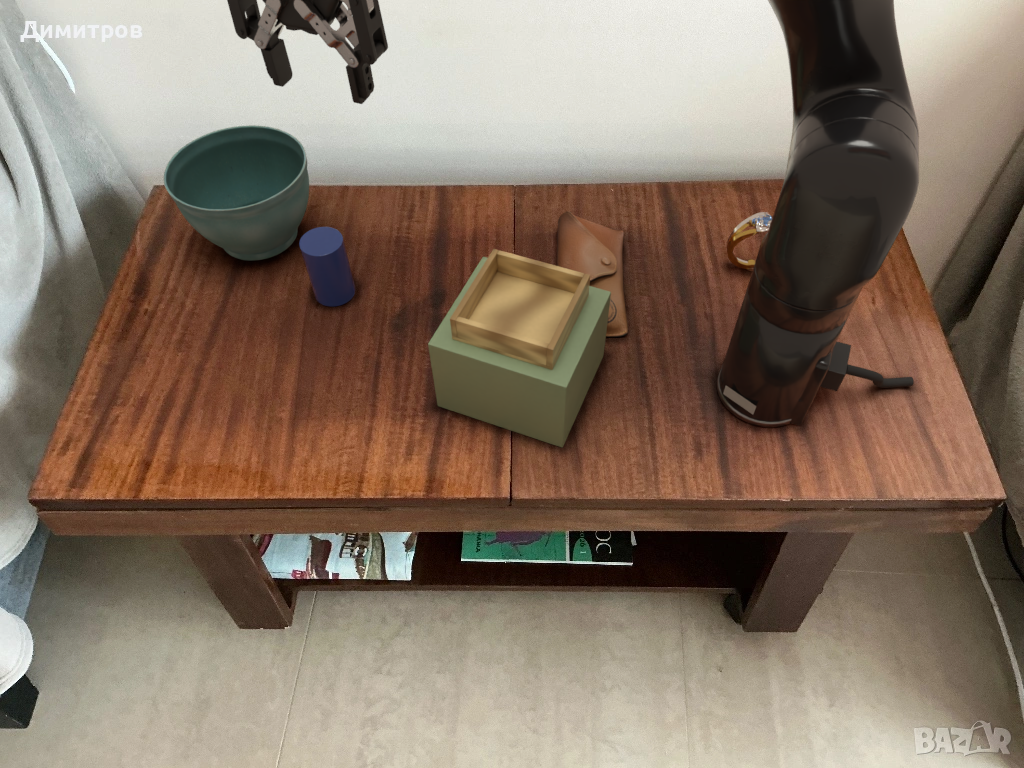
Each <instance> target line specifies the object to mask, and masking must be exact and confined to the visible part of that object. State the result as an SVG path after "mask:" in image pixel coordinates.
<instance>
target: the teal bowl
mask: <svg viewBox="0 0 1024 768" xmlns="http://www.w3.org/2000/svg"><path fill="white" fill-rule="evenodd" d="M306 152H307V151H306V149H305V147H304V145H303V144H302V143H301V141H299V139H298V138H296V136H294V135H292V134H291V133H289V132H287V131H285V130H282V129H279V128H275V127H272V126H266V125H255V124H253V125H251V124H249V125H238V126H237V125H236V126H231V127H230V126H229V127H225V128H221V129H217V130H213V131H210V132H208V133H205V134H203V135H201V136H199V137H197V138H195V139H193V140H191V141H189V142H188V143H186V144H185V145H183V146H182V147H181V148H179V149H178V151H177V152H175V153H174V154H173V155H172V157H171V158H170V160H168V162H167V164H166V166H165V169H164V172H163V186H164V188H165V190H166V192H167V193H168V195H169V196H170V198H171V199H172V200H173V202H174V203H175V204H176V207H177V209H178V210H179V212H180V213H181V214H182V216H183V217H184V219H185V220H186V222H187V223H188V224H189V225H190V226H191V227H192V228H193V229H194V230H195V232H197V233H198V234H199V235H201V236H202V237H203V238H204V239H206V240H208V241H209V242H210V243H212V244H214V245H216V246H217V247H220V248H222V249H223V250H224V251H225V252H226V254H228V255H229V256H231V257H233V258H235V259H237V260H241V261H262V260H267V259H270V258H273V257H276V256H278V255H280V254H282V253H283V252H285V251H286V250H287V249H289V248H290V247H291V246H292V244H293V243H294V242H295V240H296V239H297V236H298V231H299V230H298V229H299V226H300V225H301V223H302V221H303V219H304V217H305V214H306V211H307V208H308V204H309V199H310V198H309V197H310V178H309V171H308V157H307V153H306Z"/></svg>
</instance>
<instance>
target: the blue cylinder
mask: <svg viewBox="0 0 1024 768" xmlns="http://www.w3.org/2000/svg"><path fill="white" fill-rule="evenodd" d="M298 242H299V243H298V245H299V246H298V247H299V250H300V252H301V253H300V254H301V256H302V259H303V262H304V263H303V264H304V266H305V269H306V272H307V275H308V279H309V281H310V285H311V288H312V291H313V295H314V298H315V300H316V301H317V302H318V303H319V304H320V305H322V306H325V307H329V308H330V307H333V308H334V307H339V306H343V305H345V304H347V303H348V302H350V301H351V300H352V299H353V297H354V296H355V294H356V285H355V280H354V277H353V272H352V268H351V264H350V261H349V257H348V253H347V249H346V243H345V240H344V237H343V234H342V233H341V231H340V230H338V229H336V228H333V227H330V226H319V227H318V226H317V227H314V228H311V229H310V230H308V231H306V232H305V233H304V234H303V235H301V237H300V239H299V241H298Z"/></svg>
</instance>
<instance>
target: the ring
mask: <svg viewBox="0 0 1024 768" xmlns="http://www.w3.org/2000/svg"><path fill="white" fill-rule="evenodd" d="M772 218H773V215H771V214H770V213H769V212H767V211H760V212H757V213H754V214H752V215H750V216H749V217H747V218H746V219H743V220H742V221H741V222H740V223H738V225H737V226H735V228H734V229H733V230H732V231H731V233H730V235H728V238H727V241H726V255H727V258H728V260H729V262H730V264H732V265H734V266H736V267H737V268H740V269H743V270H747V271H748V272H752V271H753V268H754V265H755V262H756V259H748V260H744V259H741V258H740V257H737V256H736V255H735V253H734V249H735V248H736V246H737V245H739V244H740V243H741V242H742V241H744V240H746V239H748V238H751V237H752V236H755V235H757V234H759V233H762V234H764V233H767V232H768V230H769V227H770V224H771V221H772ZM747 227H749V228H751V229H747V230H745V229H746V228H747ZM752 227H754V228H752Z"/></svg>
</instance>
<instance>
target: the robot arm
mask: <svg viewBox="0 0 1024 768" xmlns="http://www.w3.org/2000/svg"><path fill="white" fill-rule="evenodd" d="M226 1H227V5H228V8H229V12H230V17H231V20H232V24H233V27H234V31H235V34H236V35H237V36H238V37H239V38H240V39H242V40H246V39H250V40H251V41H253V42H254V44H255V46H256V47H257V48H258V49H260V53H261V55H262V58H263V63H264V65H265V70H266V72H267V74H268V76H269V78H270V79H271V80H272V82H273V84H274V86H277V87H281V88H282V87H285V86H286V85H287V84H288V83H289V82H290V81H291V80H292V78H293V70H292V66H291V62H290V58H289V55H288V51H287V48H286V44H285V39H283V38H280V36H281V34H282V32H283V30H284V27H285V29H286V30H289V31H293V32H294V31H302V32H304V33H307V34H308V35H309V34H310V35H313V36H319V37H320V38H321V39H322V41H323V42H324V43H325V44H326V46H327V47H329V48H333V49H335V50H336V52H337V53H338V54H339V55H340V57H341V58H342V59H343V60H344V61H345V63H346V64H347V65H346V66H345V70H346V74H347V79H348V84H349V89H350V93H351V99H352V102H353V103H355V104H359V105H363V104H364V103H365V102H366V100H368V98H369V97H370V96H371V94H373V92H374V90H375V83H374V76H373V72H372V67H371V66H372V65H374V64H375V63H377V61H378V59H379V58H380V57H381V56H382V55H383V54H384V53H386V52H387V50H388V48H389V44H388V43H389V42H388V39H387V35H386V31H385V25H384V20H383V16H382V12H381V7H380V2H379V0H261V1H262V2H263V3H264V5H265V6H264V8H263V11H262V13H261V12H260V8H259V3H258V0H226ZM767 1H768V3H769V6H770V7H771V9H772V11H773V13H774V16H775V17H776V19H777V21H778V25H779V26H780V29H781V32H782V36H783V39H784V42H785V48H786V54H787V60H788V67H789V75H790V85H791V99H792V129H791V130H792V131H791V139H790V143H789V144H790V145H789V151H788V156H787V157H788V158H787V164H786V171H785V175H784V179H783V182H782V187H781V190H780V193H779V197H778V199H777V203H776V206H775V209H774V212H773V215H772V217H773V218H772V221H771V224H770V227H769V230H768V232H765V234H764V236H763V238H762V240H761V242H760V244H759V247H758V252H757V255H756V258H755V261H756V262H755V265H754V268H753V271H751V275H750V278H749V281H748V284H747V287H746V290H745V294H744V296H743V300H742V303H741V306H740V310H739V312H738V315H737V318H736V321H735V325H734V327H733V331H732V335H731V337H730V341H729V343H728V344H729V345H728V347H727V350H726V352H725V357H724V359H723V362H722V365H721V368H720V369H719V373H718V376H717V379H716V391H717V395H718V398H719V399H720V401H721V403H722V404H723V406H724V407H725V408H726V409H727V411H728V412H730V413H731V414H732V415H733V416H735V417H736V418H738V419H739V420H742V421H743V422H746V423H747V424H750V425H754V426H757V427H762V428H763V427H765V428H776V427H783V426H786V425H789V424H790V425H794V426H795V425H796V426H799V427H800V426H802V424H803V423H804V420H805V419H806V416H807V414H808V412H809V410H810V408H811V406H812V404H813V402H814V400H815V398H816V396H817V394H818V392H819V389H820V388H824V389H827V390H831V391H833V392H838V390H839V388H840V386H841V384H842V383H843V381H844V379H845V376H846V375H848V376H851V377H857V378H860V379H864V380H868V381H871V382H872V384H873V386H875V387H876V388H881V389H882V388H883V389H891V388H902V387H903V388H904V387H913V386H914V382H915V381H914V378H913V376H901V377H890V378H889V377H887V378H886V377H884V376H883V374H881V373H879V372H877V371H874V370H871V369H868V368H865V367H861V366H857V365H852V364H849V359H850V354H851V349H852V344H848V343H845V342H841V341H838V340H839V337H840V336H841V334H842V332H843V329H844V327H845V325H846V323H847V322H848V319H849V317H850V315H851V312H852V310H853V308H854V306H855V304H856V302H857V300H858V298H859V296H860V294H861V292H862V290H863V288H864V286H867V284H869V283H870V282H871V281H872V280H873V279H874V278H875V277H876V275H877V274H878V272H879V271H880V269H881V267H882V265H883V263H884V262H885V260H886V258H887V256H888V255H889V252H890V251H891V249H892V248H893V245H894V243H895V242H896V239H897V237H898V236H899V234H900V233H901V231H902V228H903V227H904V224H905V222H906V220H907V218H908V216H909V214H910V212H911V209H912V207H913V205H914V203H915V199H916V196H917V193H918V190H919V185H920V136H919V135H920V132H919V125H918V120H917V115H916V112H915V107H914V104H913V99H912V96H911V91H910V87H909V83H908V79H907V75H906V71H905V67H904V61H903V56H902V51H901V47H900V46H901V45H900V41H899V36H898V29H897V23H896V13H895V0H767ZM343 3H344V4H345V5H344V4H343ZM335 20H336V21H337V23H338V24H339V27H338V29H333V28H332V26H331V25H333V23H334V21H335ZM347 40H348V41H349V42H348V41H347Z"/></svg>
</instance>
